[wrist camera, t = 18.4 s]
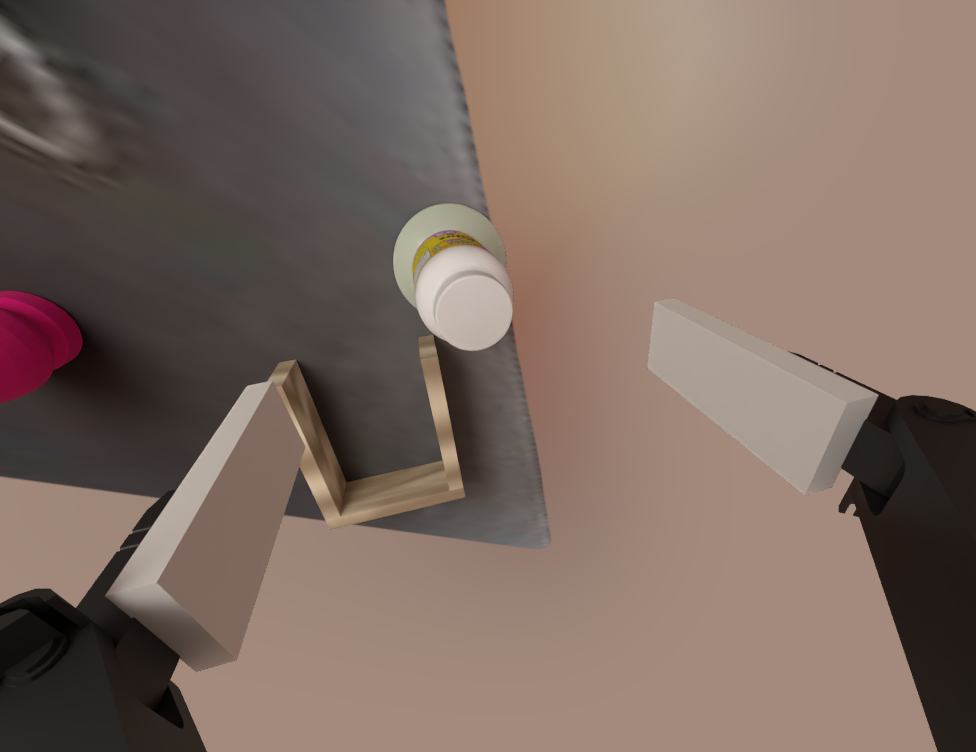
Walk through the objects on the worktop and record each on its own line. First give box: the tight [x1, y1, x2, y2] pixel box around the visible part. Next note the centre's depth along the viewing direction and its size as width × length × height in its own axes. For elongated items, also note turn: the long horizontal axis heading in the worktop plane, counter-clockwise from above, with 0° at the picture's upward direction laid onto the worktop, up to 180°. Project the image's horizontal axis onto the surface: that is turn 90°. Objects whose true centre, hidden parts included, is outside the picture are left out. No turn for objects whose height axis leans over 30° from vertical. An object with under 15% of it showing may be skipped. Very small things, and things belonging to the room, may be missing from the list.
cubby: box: [267, 335, 465, 530], centre depth 38 cm, size 18×14×5 cm
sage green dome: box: [393, 203, 506, 308], centre depth 33 cm, size 10×10×1 cm
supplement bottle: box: [412, 230, 513, 351], centre depth 27 cm, size 7×7×13 cm
